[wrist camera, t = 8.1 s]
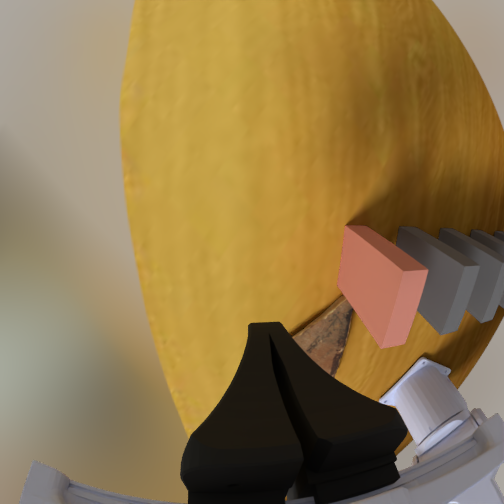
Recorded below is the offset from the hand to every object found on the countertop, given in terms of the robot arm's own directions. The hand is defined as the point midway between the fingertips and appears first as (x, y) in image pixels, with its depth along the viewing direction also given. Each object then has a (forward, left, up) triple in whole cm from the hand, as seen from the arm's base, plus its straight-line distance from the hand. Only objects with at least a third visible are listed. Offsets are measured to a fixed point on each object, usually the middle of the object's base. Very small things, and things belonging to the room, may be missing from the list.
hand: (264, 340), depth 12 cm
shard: (-8, +5, -10) cm, 14 cm away
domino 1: (-11, -6, -9) cm, 16 cm away
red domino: (-7, -4, -9) cm, 12 cm away
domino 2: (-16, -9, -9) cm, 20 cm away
